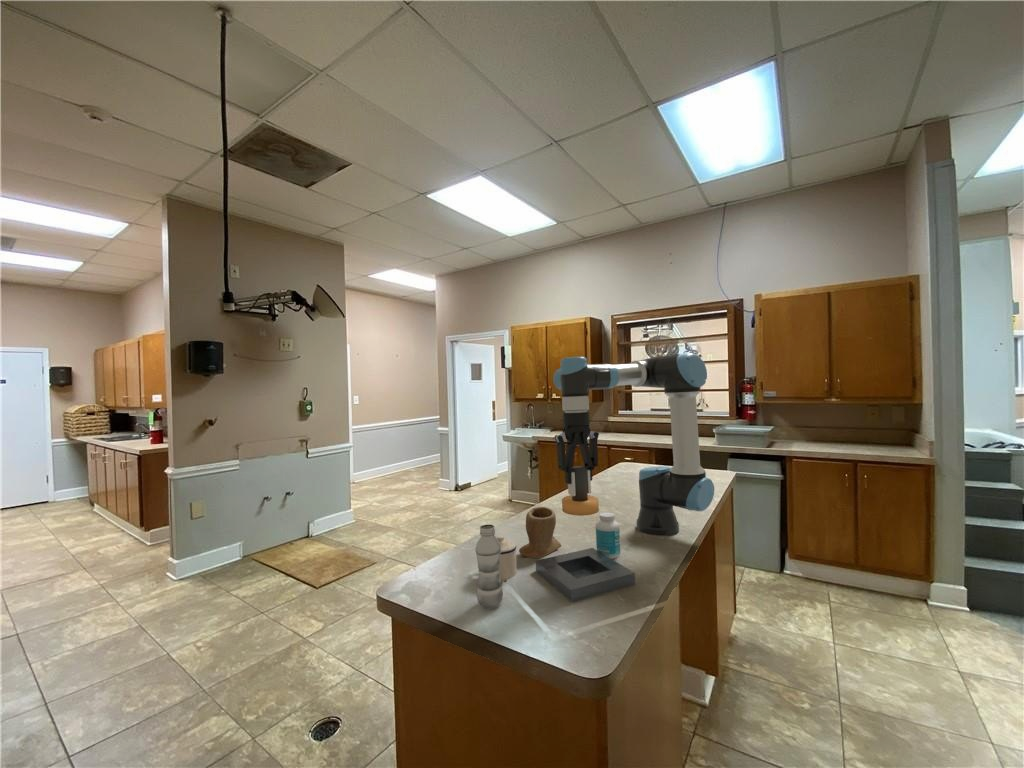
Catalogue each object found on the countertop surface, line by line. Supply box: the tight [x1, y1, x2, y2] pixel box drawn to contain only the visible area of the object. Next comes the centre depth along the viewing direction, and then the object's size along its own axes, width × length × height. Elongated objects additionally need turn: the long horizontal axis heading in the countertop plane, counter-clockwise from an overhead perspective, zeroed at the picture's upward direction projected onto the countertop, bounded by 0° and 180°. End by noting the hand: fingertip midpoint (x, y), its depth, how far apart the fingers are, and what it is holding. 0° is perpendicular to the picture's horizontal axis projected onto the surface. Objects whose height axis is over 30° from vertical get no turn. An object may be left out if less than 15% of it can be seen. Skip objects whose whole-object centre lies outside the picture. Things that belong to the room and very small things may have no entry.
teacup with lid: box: [496, 535, 518, 583], centre depth 122 cm, size 12×9×12 cm
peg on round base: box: [561, 465, 600, 517], centre depth 116 cm, size 10×10×12 cm
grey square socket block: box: [535, 547, 636, 603], centre depth 116 cm, size 20×20×4 cm
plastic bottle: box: [475, 523, 504, 609], centre depth 105 cm, size 6×7×20 cm
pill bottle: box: [595, 512, 621, 560], centre depth 131 cm, size 8×7×14 cm
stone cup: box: [518, 506, 562, 559], centre depth 137 cm, size 15×12×15 cm
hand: (579, 493), depth 116 cm, fingers closed on peg on round base, 4 cm apart
